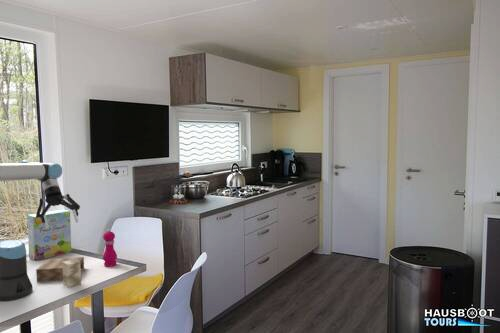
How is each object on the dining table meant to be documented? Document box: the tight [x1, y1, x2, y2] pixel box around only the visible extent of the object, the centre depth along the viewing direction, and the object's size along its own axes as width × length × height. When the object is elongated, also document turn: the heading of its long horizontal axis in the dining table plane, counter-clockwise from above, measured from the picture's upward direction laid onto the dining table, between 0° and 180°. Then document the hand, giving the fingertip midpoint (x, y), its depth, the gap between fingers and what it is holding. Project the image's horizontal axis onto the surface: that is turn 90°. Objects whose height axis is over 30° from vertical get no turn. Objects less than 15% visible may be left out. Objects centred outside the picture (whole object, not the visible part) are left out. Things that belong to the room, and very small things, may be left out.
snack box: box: [27, 209, 72, 261], centre depth 230 cm, size 22×9×26 cm, turn 143°
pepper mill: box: [102, 228, 118, 268], centre depth 212 cm, size 7×7×20 cm
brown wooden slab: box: [35, 256, 85, 283], centre depth 199 cm, size 18×16×6 cm
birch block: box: [62, 259, 82, 289], centre depth 185 cm, size 6×6×11 cm
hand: (62, 224), depth 193 cm, fingers open, 13 cm apart
